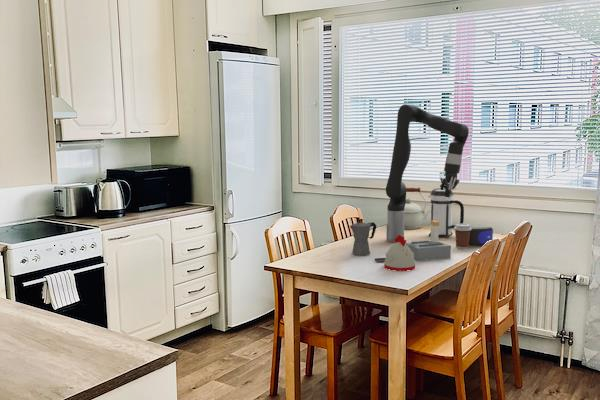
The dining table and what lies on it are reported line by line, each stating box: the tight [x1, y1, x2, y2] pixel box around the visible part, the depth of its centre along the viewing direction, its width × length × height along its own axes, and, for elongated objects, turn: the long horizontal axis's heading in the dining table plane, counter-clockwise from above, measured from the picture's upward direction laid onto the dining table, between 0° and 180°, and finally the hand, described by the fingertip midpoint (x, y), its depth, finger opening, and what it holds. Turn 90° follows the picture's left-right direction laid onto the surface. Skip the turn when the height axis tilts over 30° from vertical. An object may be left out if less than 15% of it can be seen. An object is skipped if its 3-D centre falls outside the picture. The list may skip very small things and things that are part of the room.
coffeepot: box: [349, 218, 377, 257], centre depth 288 cm, size 15×9×18 cm, turn 115°
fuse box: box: [405, 239, 452, 262], centre depth 283 cm, size 18×14×7 cm
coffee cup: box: [453, 223, 473, 250], centre depth 301 cm, size 9×9×12 cm
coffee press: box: [428, 183, 465, 239], centre depth 329 cm, size 17×16×30 cm
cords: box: [374, 257, 386, 263], centre depth 275 cm, size 17×4×1 cm, turn 99°
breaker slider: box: [427, 220, 442, 244], centre depth 283 cm, size 4×6×11 cm
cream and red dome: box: [383, 235, 416, 272], centre depth 262 cm, size 14×14×15 cm
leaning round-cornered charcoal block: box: [469, 226, 494, 247], centre depth 305 cm, size 16×5×9 cm, turn 96°
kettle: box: [404, 187, 431, 230], centre depth 356 cm, size 25×18×25 cm
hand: (446, 197), depth 289 cm, fingers closed
